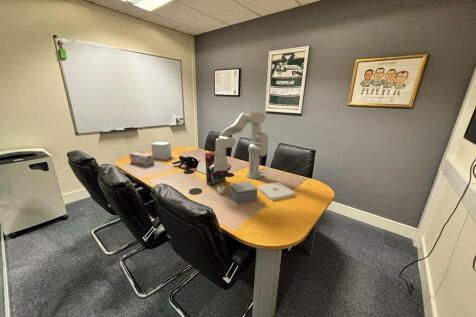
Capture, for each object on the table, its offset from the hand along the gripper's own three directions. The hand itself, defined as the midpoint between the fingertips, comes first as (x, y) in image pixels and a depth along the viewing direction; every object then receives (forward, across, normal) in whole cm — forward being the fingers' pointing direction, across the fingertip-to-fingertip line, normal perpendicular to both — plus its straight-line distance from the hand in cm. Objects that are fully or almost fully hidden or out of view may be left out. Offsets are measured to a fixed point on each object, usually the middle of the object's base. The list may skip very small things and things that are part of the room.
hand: (220, 176), depth 147 cm
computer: (+13, +41, -15) cm, 46 cm away
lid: (+5, +13, -14) cm, 19 cm away
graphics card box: (+13, +3, +19) cm, 24 cm away
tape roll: (+13, +1, 0) cm, 13 cm away
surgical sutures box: (+14, -56, +96) cm, 112 cm away
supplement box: (+13, -35, +110) cm, 117 cm away
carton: (+13, +13, -14) cm, 23 cm away
